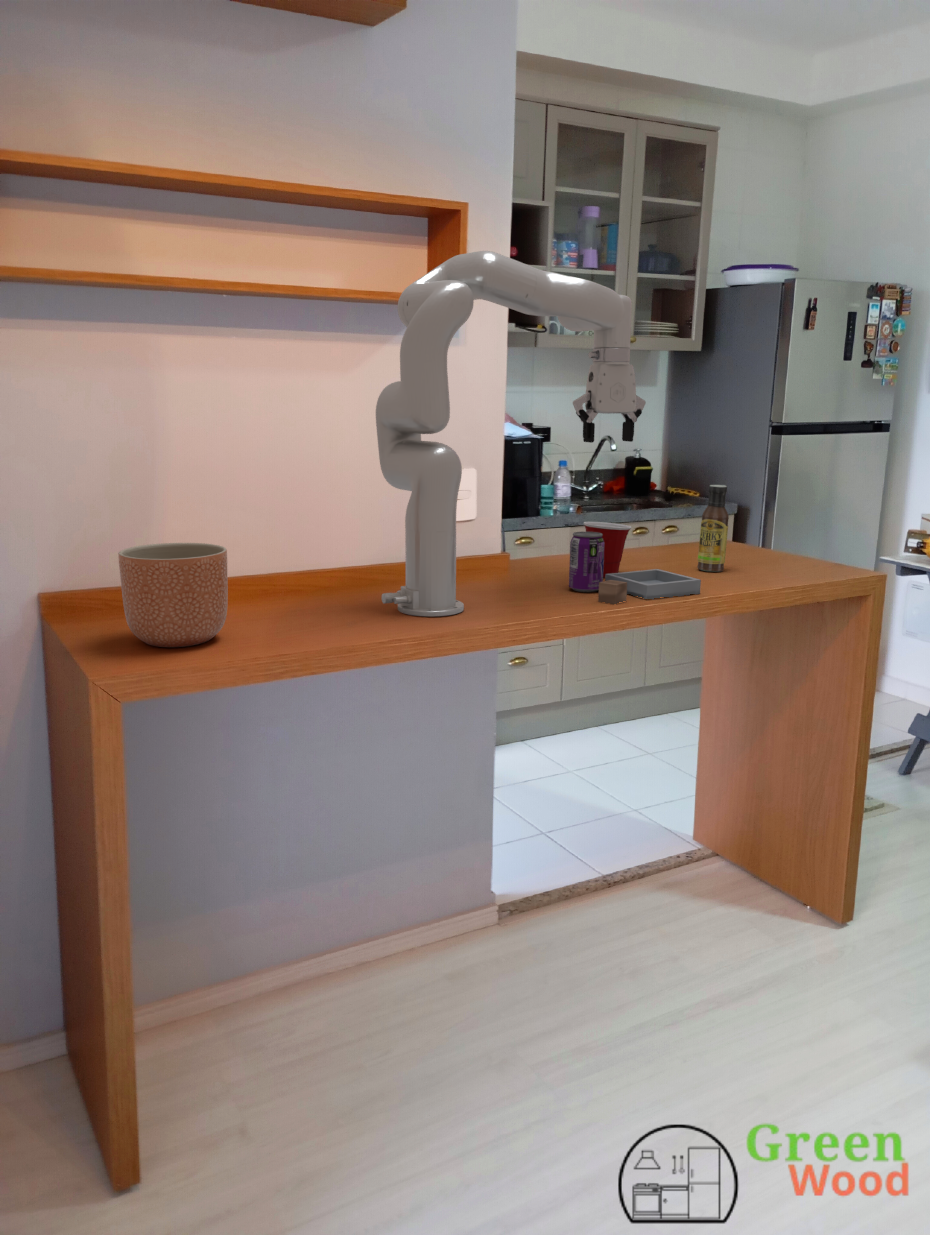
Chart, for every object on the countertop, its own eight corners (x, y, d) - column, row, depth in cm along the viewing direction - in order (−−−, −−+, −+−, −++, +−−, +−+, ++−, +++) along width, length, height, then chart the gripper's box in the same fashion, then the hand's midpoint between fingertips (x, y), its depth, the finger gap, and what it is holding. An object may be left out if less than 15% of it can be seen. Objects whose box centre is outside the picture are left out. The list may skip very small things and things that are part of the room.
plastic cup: (638, 578, 226) (641, 524, 223) (596, 581, 222) (598, 526, 219) (614, 569, 236) (616, 518, 233) (573, 572, 232) (574, 520, 229)
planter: (244, 645, 165) (240, 554, 161) (137, 659, 156) (131, 562, 153) (214, 624, 179) (209, 539, 175) (115, 635, 171) (108, 546, 167)
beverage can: (601, 594, 208) (603, 536, 205) (567, 592, 209) (568, 535, 207) (603, 587, 215) (605, 531, 212) (570, 586, 216) (572, 530, 213)
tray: (646, 600, 202) (647, 585, 202) (604, 587, 214) (605, 574, 214) (700, 593, 209) (700, 579, 208) (656, 582, 221) (657, 568, 220)
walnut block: (615, 605, 198) (616, 585, 197) (598, 602, 201) (598, 582, 200) (626, 602, 201) (627, 582, 200) (609, 599, 204) (610, 579, 203)
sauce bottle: (693, 571, 235) (698, 485, 231) (702, 567, 240) (708, 483, 236) (719, 574, 232) (725, 487, 227) (729, 570, 237) (734, 485, 232)
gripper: (585, 356, 201) (582, 443, 205) (656, 358, 208) (652, 441, 212) (565, 357, 207) (563, 441, 211) (635, 358, 215) (632, 440, 219)
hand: (608, 441), depth 212 cm, fingers open, 9 cm apart
